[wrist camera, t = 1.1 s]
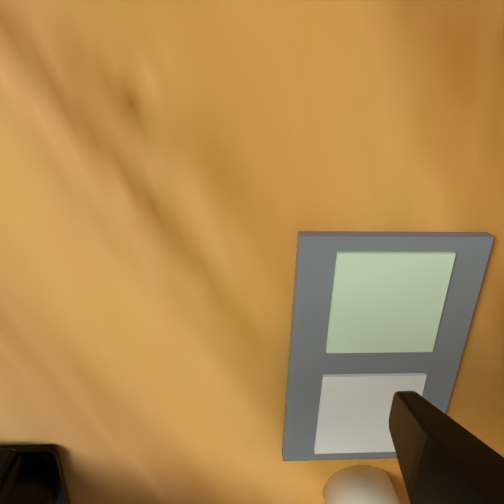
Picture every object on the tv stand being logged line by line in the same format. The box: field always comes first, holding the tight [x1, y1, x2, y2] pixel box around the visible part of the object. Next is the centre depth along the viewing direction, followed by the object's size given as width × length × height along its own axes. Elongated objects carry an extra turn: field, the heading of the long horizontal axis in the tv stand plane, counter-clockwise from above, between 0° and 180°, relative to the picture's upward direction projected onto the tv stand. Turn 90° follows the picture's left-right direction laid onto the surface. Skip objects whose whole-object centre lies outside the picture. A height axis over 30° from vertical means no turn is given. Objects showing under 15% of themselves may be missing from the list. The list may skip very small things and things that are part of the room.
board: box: [282, 232, 494, 461], centre depth 22 cm, size 14×9×1 cm, turn 179°
